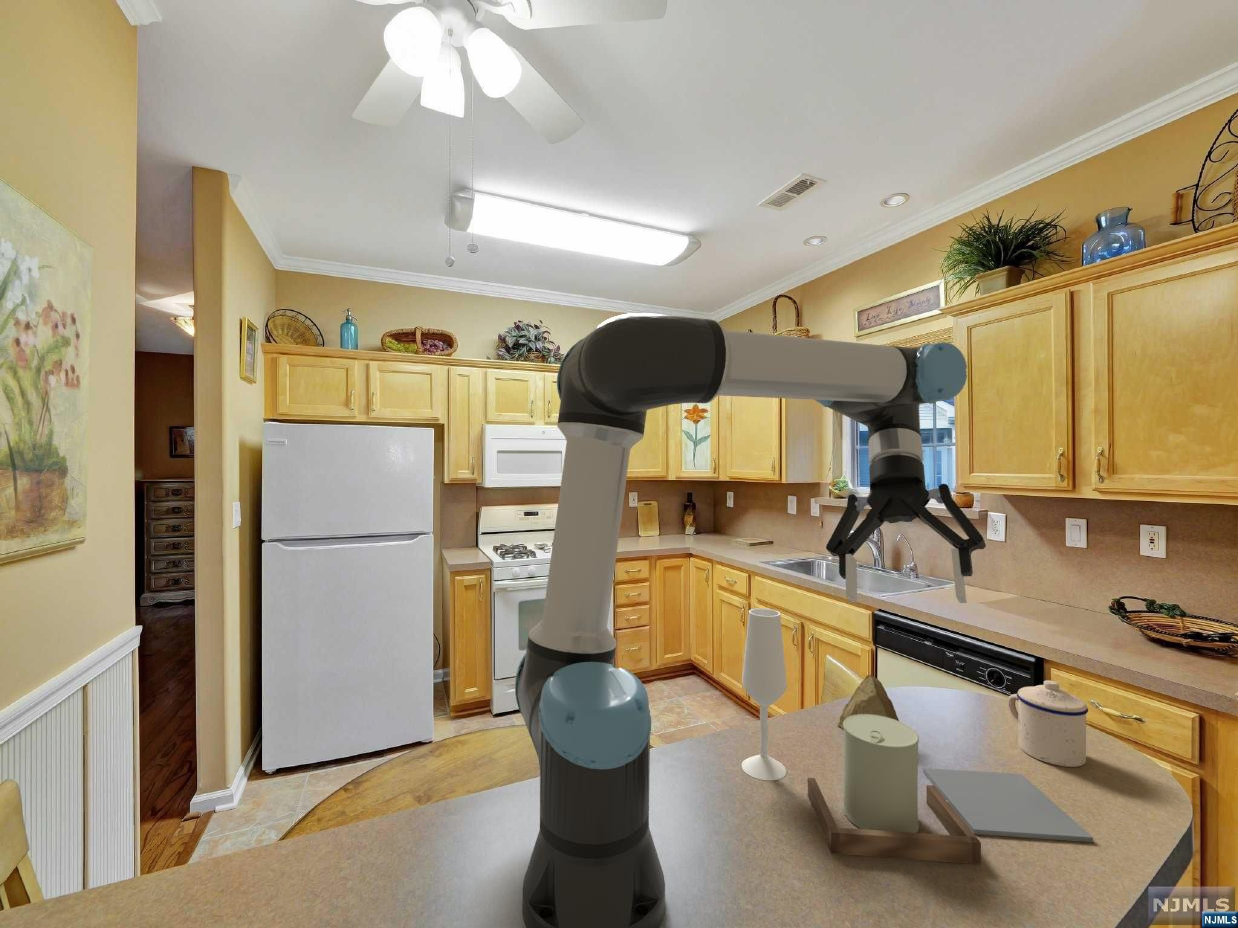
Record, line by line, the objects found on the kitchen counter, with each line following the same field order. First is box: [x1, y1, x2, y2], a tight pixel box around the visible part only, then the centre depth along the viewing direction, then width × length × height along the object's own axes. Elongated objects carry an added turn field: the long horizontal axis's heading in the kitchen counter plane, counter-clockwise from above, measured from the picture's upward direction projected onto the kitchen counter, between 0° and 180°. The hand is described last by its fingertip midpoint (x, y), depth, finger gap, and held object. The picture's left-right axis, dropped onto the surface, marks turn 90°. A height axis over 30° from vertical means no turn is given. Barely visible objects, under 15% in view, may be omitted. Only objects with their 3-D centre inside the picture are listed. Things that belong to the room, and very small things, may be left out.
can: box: [841, 714, 920, 833], centre depth 72 cm, size 9×9×12 cm
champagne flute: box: [741, 607, 788, 782], centre depth 84 cm, size 7×7×24 cm
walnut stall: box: [807, 777, 982, 865], centre depth 70 cm, size 17×12×2 cm
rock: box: [836, 674, 900, 730], centre depth 93 cm, size 11×9×10 cm
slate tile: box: [922, 767, 1094, 843], centre depth 75 cm, size 14×14×1 cm
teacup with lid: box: [1007, 679, 1089, 768], centre depth 90 cm, size 12×9×12 cm
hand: (903, 600), depth 74 cm, fingers open, 13 cm apart
